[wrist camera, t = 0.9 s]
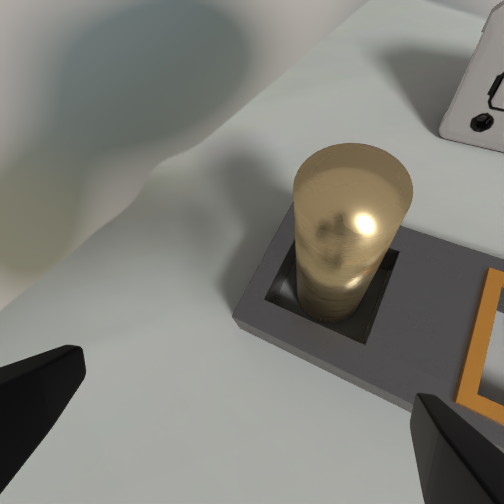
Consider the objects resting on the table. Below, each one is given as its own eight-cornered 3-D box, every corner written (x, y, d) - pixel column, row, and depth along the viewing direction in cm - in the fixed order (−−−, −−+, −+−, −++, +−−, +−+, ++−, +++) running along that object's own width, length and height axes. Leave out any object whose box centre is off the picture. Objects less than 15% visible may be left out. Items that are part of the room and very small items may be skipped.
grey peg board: (621, 327, 20) (676, 312, 17) (607, 509, 16) (673, 529, 13) (298, 215, 26) (298, 190, 23) (240, 328, 23) (230, 315, 20)
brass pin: (372, 283, 23) (434, 170, 12) (339, 335, 22) (376, 258, 11) (318, 252, 25) (331, 128, 14) (285, 299, 23) (271, 201, 13)
